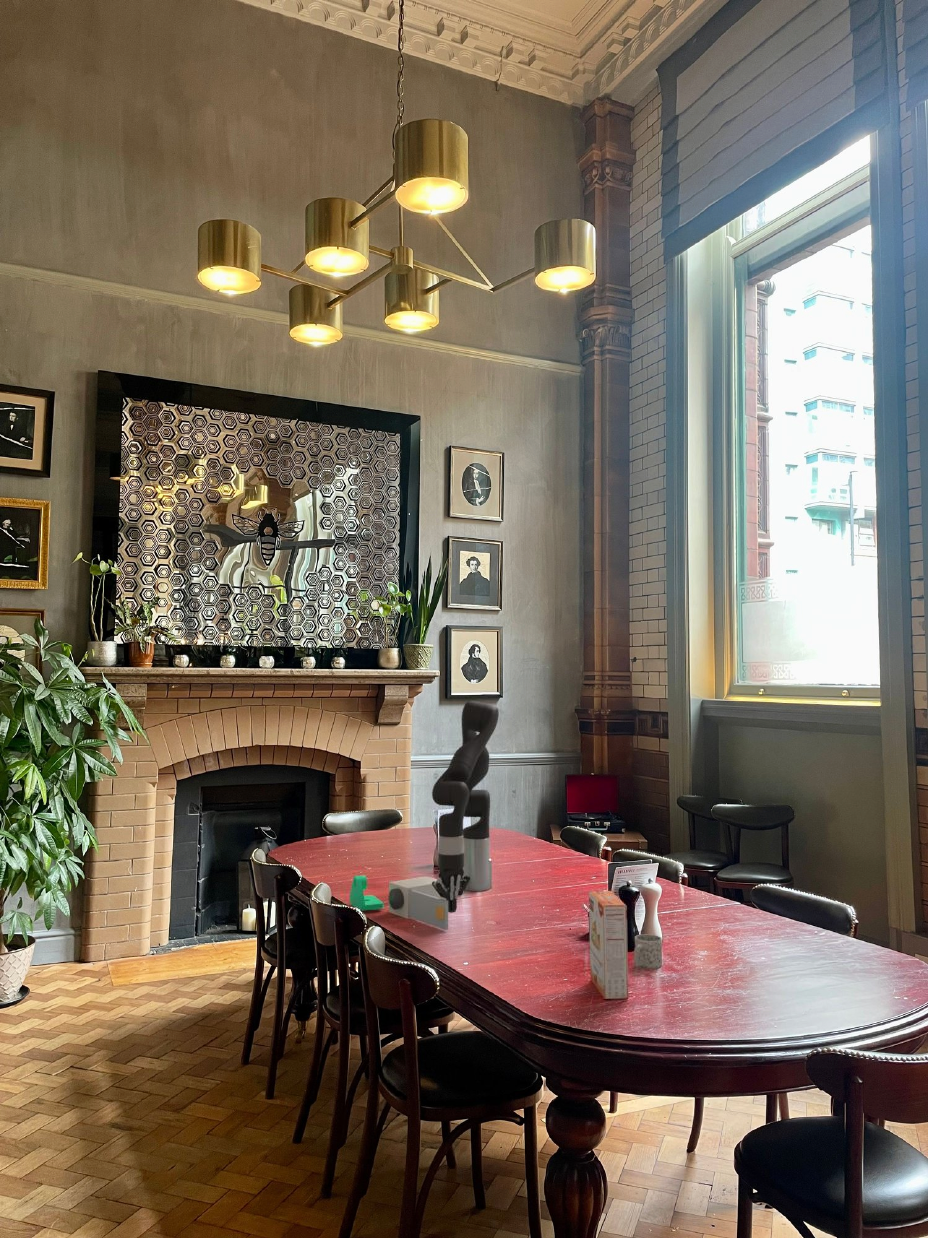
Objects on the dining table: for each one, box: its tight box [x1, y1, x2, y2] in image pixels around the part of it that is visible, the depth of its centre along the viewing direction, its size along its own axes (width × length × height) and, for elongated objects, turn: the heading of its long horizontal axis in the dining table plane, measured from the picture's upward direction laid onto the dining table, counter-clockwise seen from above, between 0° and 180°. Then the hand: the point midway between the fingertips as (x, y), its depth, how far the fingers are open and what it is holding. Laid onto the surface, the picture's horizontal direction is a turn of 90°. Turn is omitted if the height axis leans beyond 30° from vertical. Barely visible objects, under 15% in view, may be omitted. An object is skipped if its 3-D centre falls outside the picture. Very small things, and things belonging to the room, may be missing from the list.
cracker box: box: [588, 890, 629, 1000], centre depth 212 cm, size 14×6×21 cm, turn 5°
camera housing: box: [388, 875, 446, 920], centre depth 282 cm, size 16×10×9 cm, turn 129°
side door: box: [409, 890, 449, 931], centre depth 267 cm, size 18×2×8 cm, turn 39°
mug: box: [633, 933, 663, 970], centre depth 229 cm, size 10×7×7 cm, turn 141°
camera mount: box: [349, 874, 384, 912], centre depth 287 cm, size 12×8×10 cm, turn 23°
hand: (451, 912), depth 264 cm, fingers closed
